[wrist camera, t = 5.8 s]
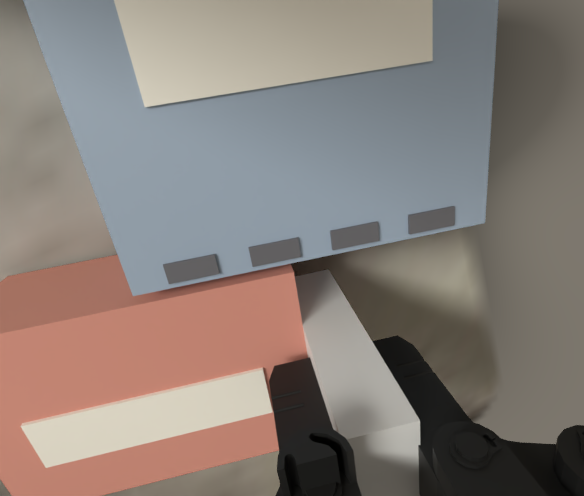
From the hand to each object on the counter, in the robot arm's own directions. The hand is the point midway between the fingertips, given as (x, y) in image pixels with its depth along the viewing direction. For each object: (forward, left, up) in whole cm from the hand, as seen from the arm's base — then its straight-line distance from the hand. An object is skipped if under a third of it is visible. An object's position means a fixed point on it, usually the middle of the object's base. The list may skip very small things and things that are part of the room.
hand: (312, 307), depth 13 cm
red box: (-5, 0, -1) cm, 5 cm away
